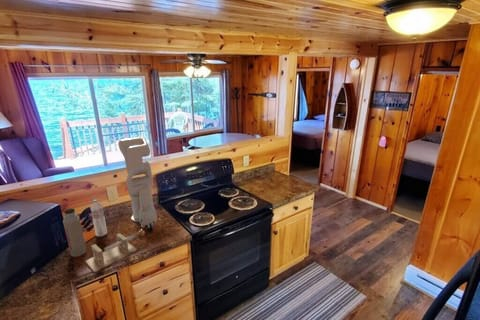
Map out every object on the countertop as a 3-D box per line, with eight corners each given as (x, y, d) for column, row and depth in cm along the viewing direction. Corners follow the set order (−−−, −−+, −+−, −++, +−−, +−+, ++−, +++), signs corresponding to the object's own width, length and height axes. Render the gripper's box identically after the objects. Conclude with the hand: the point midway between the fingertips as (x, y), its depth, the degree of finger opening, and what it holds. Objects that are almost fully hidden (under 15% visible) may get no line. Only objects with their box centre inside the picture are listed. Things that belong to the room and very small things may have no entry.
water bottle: (93, 236, 168) (86, 201, 161) (101, 230, 174) (95, 197, 167) (101, 237, 166) (95, 203, 159) (109, 232, 172) (103, 198, 165)
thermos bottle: (72, 258, 147) (61, 215, 139) (69, 251, 153) (59, 209, 144) (87, 252, 152) (78, 210, 143) (85, 246, 158) (76, 205, 149)
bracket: (126, 242, 161) (124, 229, 158) (136, 250, 154) (134, 236, 151) (85, 262, 144) (82, 248, 141) (94, 272, 136) (91, 257, 133)
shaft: (141, 233, 164) (140, 227, 163) (145, 236, 161) (144, 230, 160) (103, 251, 147) (102, 245, 145) (107, 254, 144) (106, 248, 143)
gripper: (154, 200, 169) (156, 225, 174) (132, 209, 158) (136, 235, 163) (160, 204, 164) (163, 229, 169) (139, 213, 153) (142, 239, 158)
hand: (150, 231), depth 166 cm, fingers closed
